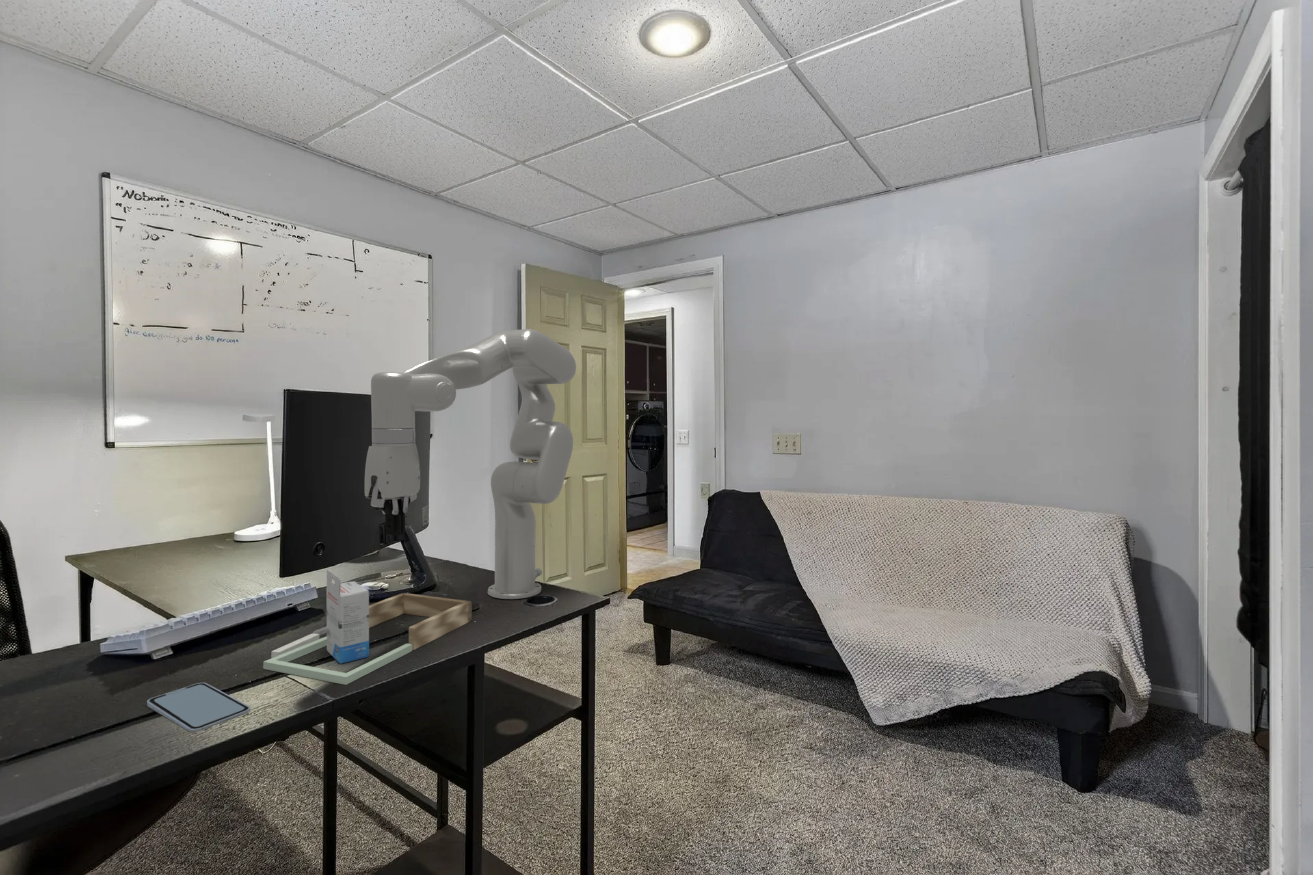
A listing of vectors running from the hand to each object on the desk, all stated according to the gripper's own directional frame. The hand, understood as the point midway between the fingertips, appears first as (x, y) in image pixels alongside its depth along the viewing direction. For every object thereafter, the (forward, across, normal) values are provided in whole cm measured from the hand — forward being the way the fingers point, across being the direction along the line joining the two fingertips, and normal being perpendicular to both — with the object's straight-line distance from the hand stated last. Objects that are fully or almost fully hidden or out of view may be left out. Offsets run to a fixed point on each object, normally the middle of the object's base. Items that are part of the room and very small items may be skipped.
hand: (395, 533), depth 114 cm
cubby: (+20, -4, -1) cm, 20 cm away
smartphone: (+20, +33, -6) cm, 39 cm away
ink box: (+20, +10, -2) cm, 22 cm away
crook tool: (+20, 0, -12) cm, 23 cm away
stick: (+20, +12, -12) cm, 26 cm away
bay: (+19, +12, 0) cm, 23 cm away
